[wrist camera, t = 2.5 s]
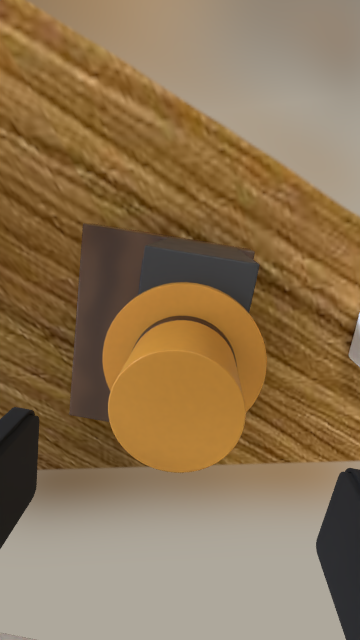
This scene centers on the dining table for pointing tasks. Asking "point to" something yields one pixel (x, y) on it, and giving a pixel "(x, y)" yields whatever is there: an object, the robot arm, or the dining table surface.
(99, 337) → the brown flat slab
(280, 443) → the dining table surface
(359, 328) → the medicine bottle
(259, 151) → the dining table surface
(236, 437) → the hat
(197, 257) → the dark grey block
